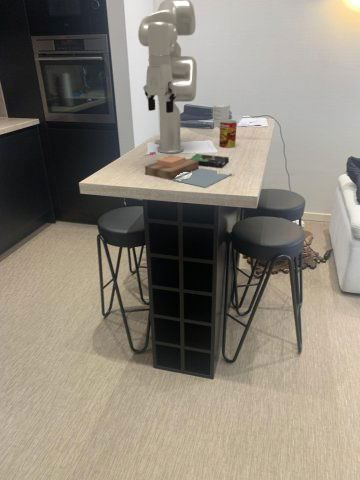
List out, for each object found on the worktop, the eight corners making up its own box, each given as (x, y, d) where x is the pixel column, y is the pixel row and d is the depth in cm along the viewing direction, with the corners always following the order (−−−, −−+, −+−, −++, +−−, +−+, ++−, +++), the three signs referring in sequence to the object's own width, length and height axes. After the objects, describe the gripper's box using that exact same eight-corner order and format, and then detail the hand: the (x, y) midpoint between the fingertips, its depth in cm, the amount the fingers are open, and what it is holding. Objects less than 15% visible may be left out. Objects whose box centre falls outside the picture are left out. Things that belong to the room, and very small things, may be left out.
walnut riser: (145, 174, 145) (144, 166, 143) (173, 163, 158) (172, 156, 156) (172, 179, 138) (171, 172, 137) (198, 168, 151) (198, 161, 150)
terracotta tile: (157, 164, 145) (157, 159, 144) (171, 159, 152) (171, 154, 151) (171, 167, 142) (171, 162, 141) (185, 162, 148) (185, 157, 147)
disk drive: (228, 163, 160) (196, 159, 165) (229, 157, 159) (196, 153, 164) (221, 169, 152) (187, 165, 157) (222, 163, 150) (187, 159, 155)
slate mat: (173, 180, 137) (173, 180, 137) (201, 168, 151) (201, 168, 151) (205, 187, 130) (205, 187, 130) (232, 174, 143) (232, 173, 143)
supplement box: (220, 125, 237) (221, 104, 231) (229, 127, 231) (230, 105, 226) (212, 126, 232) (212, 105, 227) (220, 128, 227) (221, 106, 221)
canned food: (216, 145, 187) (217, 120, 182) (229, 143, 190) (230, 119, 185) (224, 148, 181) (226, 123, 176) (238, 146, 184) (239, 121, 179)
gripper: (135, 61, 137) (138, 110, 145) (169, 61, 127) (170, 114, 134) (150, 61, 142) (152, 108, 150) (184, 61, 132) (184, 112, 139)
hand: (160, 111), depth 142 cm, fingers open, 9 cm apart
